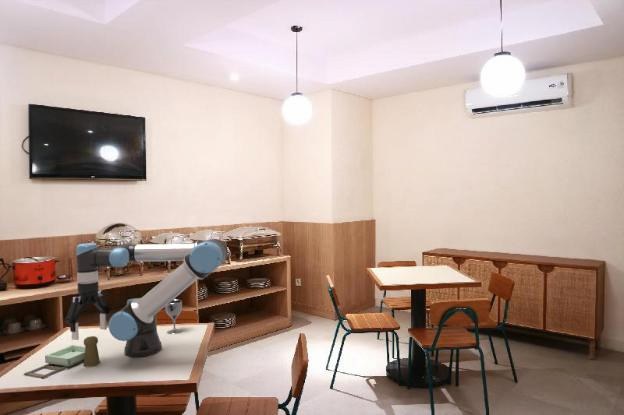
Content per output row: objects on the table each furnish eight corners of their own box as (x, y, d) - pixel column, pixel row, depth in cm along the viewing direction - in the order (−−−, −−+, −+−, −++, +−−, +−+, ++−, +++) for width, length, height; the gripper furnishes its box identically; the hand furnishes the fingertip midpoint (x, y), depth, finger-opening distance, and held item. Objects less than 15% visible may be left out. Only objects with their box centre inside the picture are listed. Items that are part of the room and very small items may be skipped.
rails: (94, 356, 185) (94, 355, 185) (44, 378, 163) (44, 376, 163) (75, 354, 189) (75, 352, 189) (23, 375, 167) (23, 373, 167)
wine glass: (168, 329, 220) (167, 300, 220) (184, 328, 221) (183, 299, 221) (164, 334, 213) (163, 303, 212) (181, 333, 213) (180, 303, 213)
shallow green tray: (95, 354, 184) (95, 347, 184) (68, 366, 172) (68, 358, 172) (73, 351, 189) (72, 344, 189) (45, 362, 177) (45, 355, 177)
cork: (93, 367, 173) (92, 339, 173) (79, 366, 174) (78, 339, 174) (103, 361, 179) (102, 334, 179) (90, 360, 180) (89, 334, 180)
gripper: (105, 275, 189) (107, 324, 189) (53, 287, 166) (55, 343, 166) (119, 276, 186) (120, 326, 187) (67, 288, 163) (69, 345, 163)
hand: (89, 334), depth 176 cm, fingers open, 13 cm apart
